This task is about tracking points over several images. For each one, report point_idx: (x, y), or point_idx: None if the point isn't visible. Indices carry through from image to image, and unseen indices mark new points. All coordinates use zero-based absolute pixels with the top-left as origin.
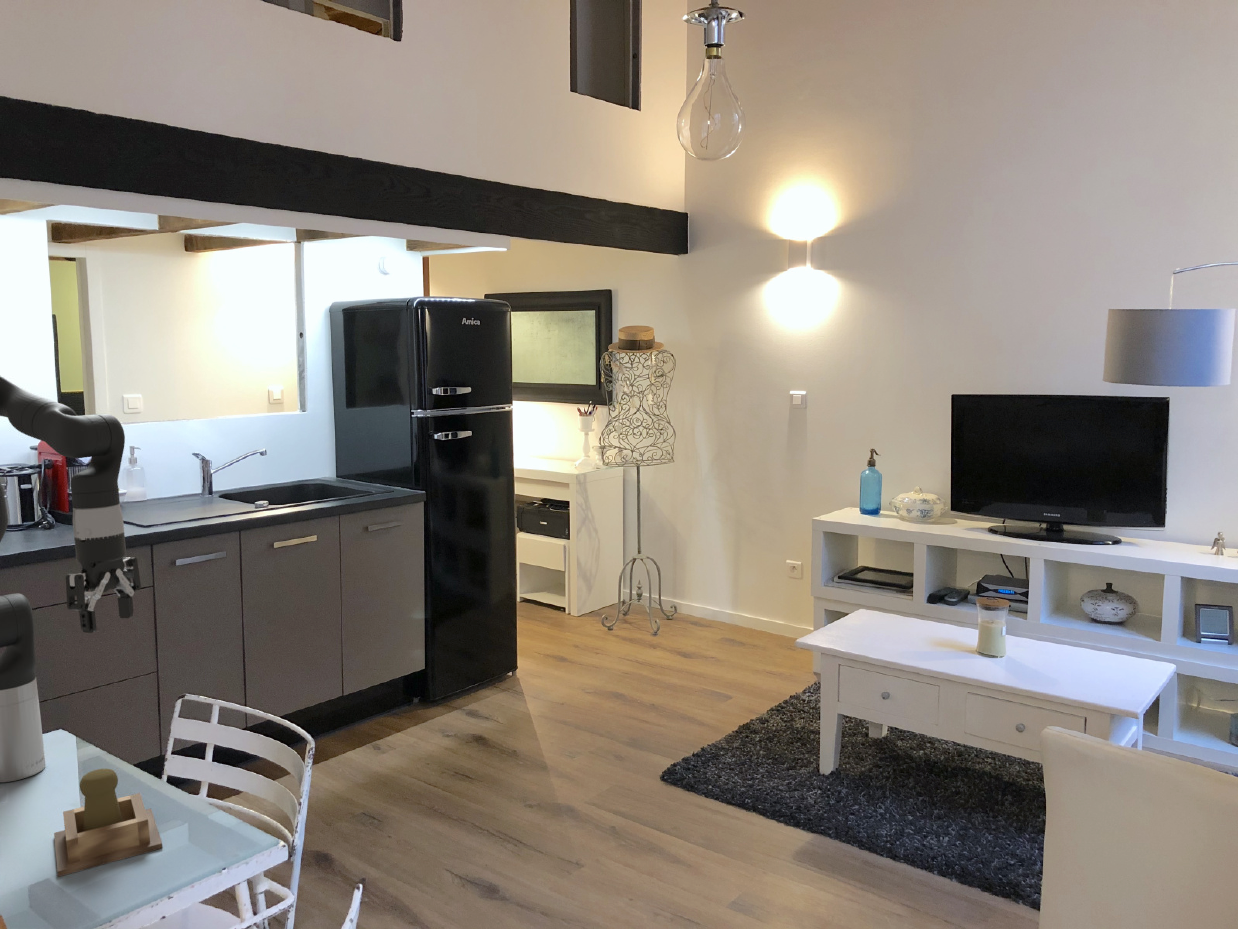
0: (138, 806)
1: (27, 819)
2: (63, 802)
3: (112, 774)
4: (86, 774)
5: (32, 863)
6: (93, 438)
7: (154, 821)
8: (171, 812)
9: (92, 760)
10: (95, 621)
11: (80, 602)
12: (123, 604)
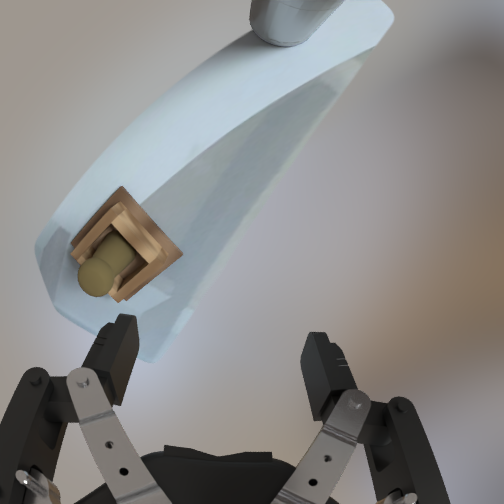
0: (136, 281)
1: (155, 121)
2: (199, 132)
3: (98, 296)
4: (85, 272)
5: (82, 201)
6: None
7: (157, 274)
8: (187, 272)
9: (321, 92)
10: (129, 373)
11: (45, 427)
12: (316, 383)
